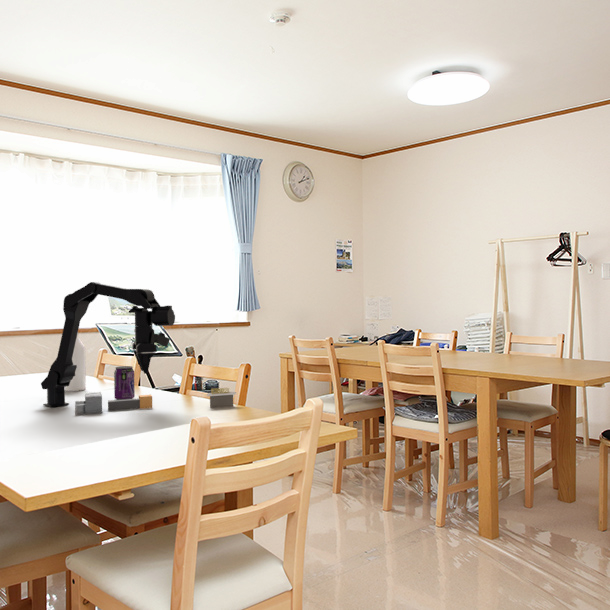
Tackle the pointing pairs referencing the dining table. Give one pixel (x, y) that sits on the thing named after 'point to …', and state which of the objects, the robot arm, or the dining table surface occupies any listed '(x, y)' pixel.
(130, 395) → the beverage can
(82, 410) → the housing
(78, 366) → the bottle
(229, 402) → the platform
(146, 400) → the plug
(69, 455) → the dining table surface
